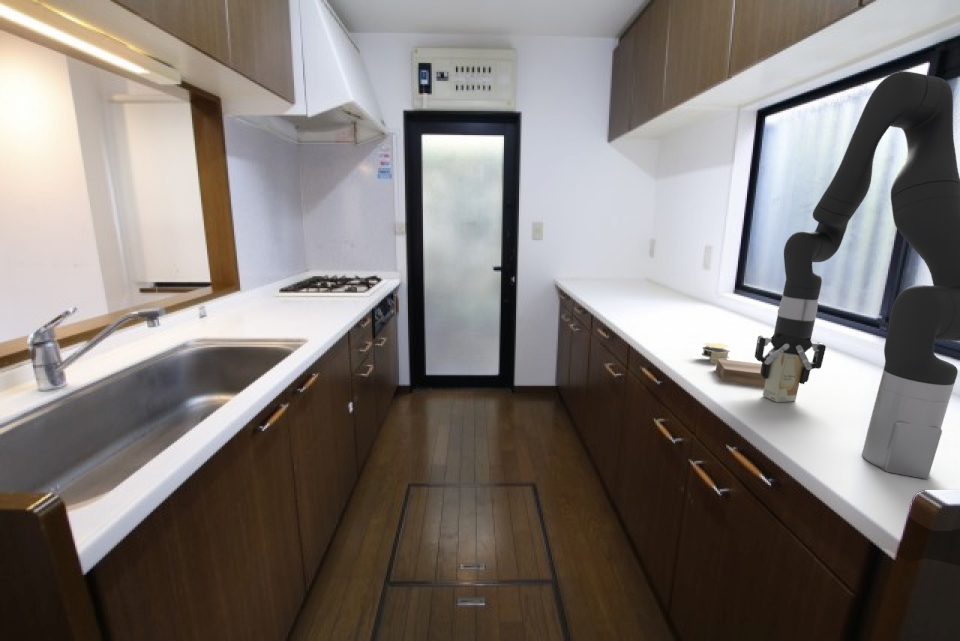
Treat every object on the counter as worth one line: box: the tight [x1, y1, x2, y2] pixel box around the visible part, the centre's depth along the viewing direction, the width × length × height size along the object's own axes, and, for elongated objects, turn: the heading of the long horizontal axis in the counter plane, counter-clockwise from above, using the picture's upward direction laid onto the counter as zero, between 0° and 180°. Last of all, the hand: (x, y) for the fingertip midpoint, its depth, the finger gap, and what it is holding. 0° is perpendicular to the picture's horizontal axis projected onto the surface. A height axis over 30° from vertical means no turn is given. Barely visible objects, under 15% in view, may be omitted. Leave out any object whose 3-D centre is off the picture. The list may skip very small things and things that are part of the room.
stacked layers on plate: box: [701, 342, 731, 365], centre depth 143 cm, size 10×9×6 cm
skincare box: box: [762, 350, 804, 403], centre depth 112 cm, size 6×4×12 cm
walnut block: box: [715, 359, 766, 388], centre depth 127 cm, size 10×12×4 cm
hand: (782, 380), depth 113 cm, fingers closed on skincare box, 7 cm apart
